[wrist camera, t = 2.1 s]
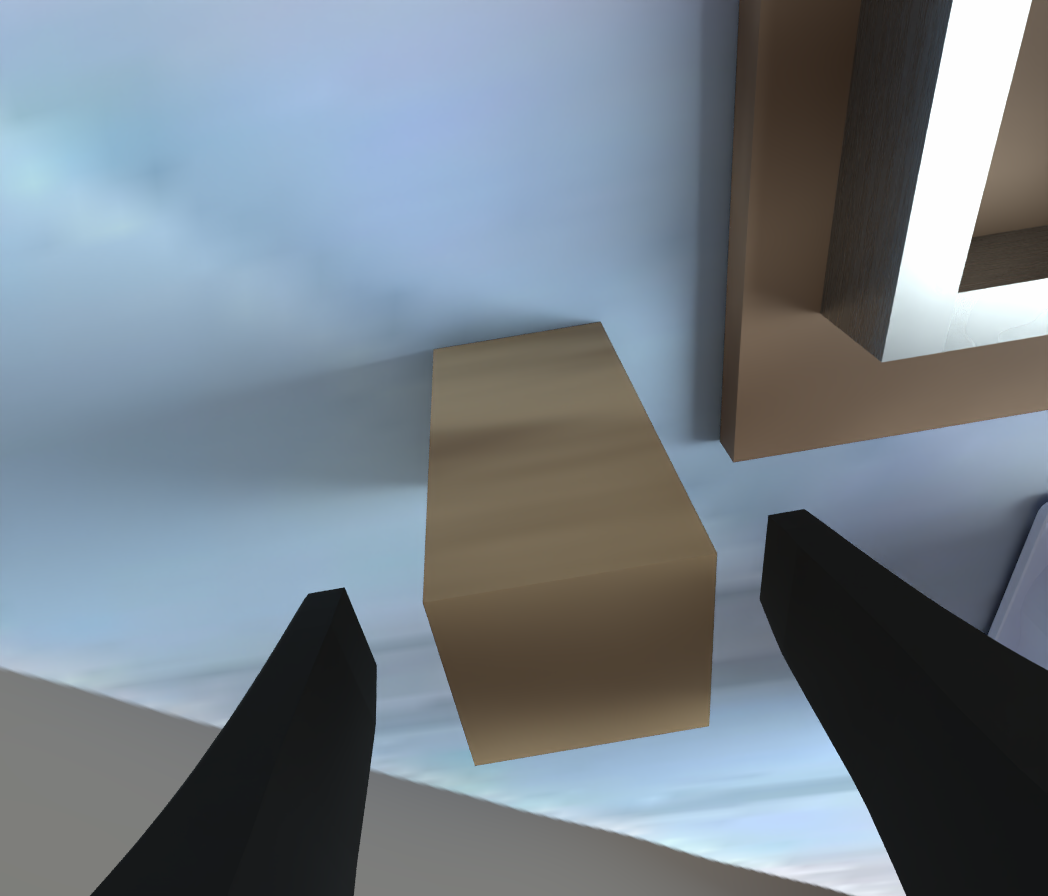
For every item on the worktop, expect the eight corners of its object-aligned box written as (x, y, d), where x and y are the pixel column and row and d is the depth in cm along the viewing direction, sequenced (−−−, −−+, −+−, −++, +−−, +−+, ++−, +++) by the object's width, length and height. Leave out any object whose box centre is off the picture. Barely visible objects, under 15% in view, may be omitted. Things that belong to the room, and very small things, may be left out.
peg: (610, 458, 18) (709, 726, 11) (464, 483, 18) (474, 765, 11) (600, 322, 15) (716, 553, 9) (433, 349, 15) (423, 602, 9)
